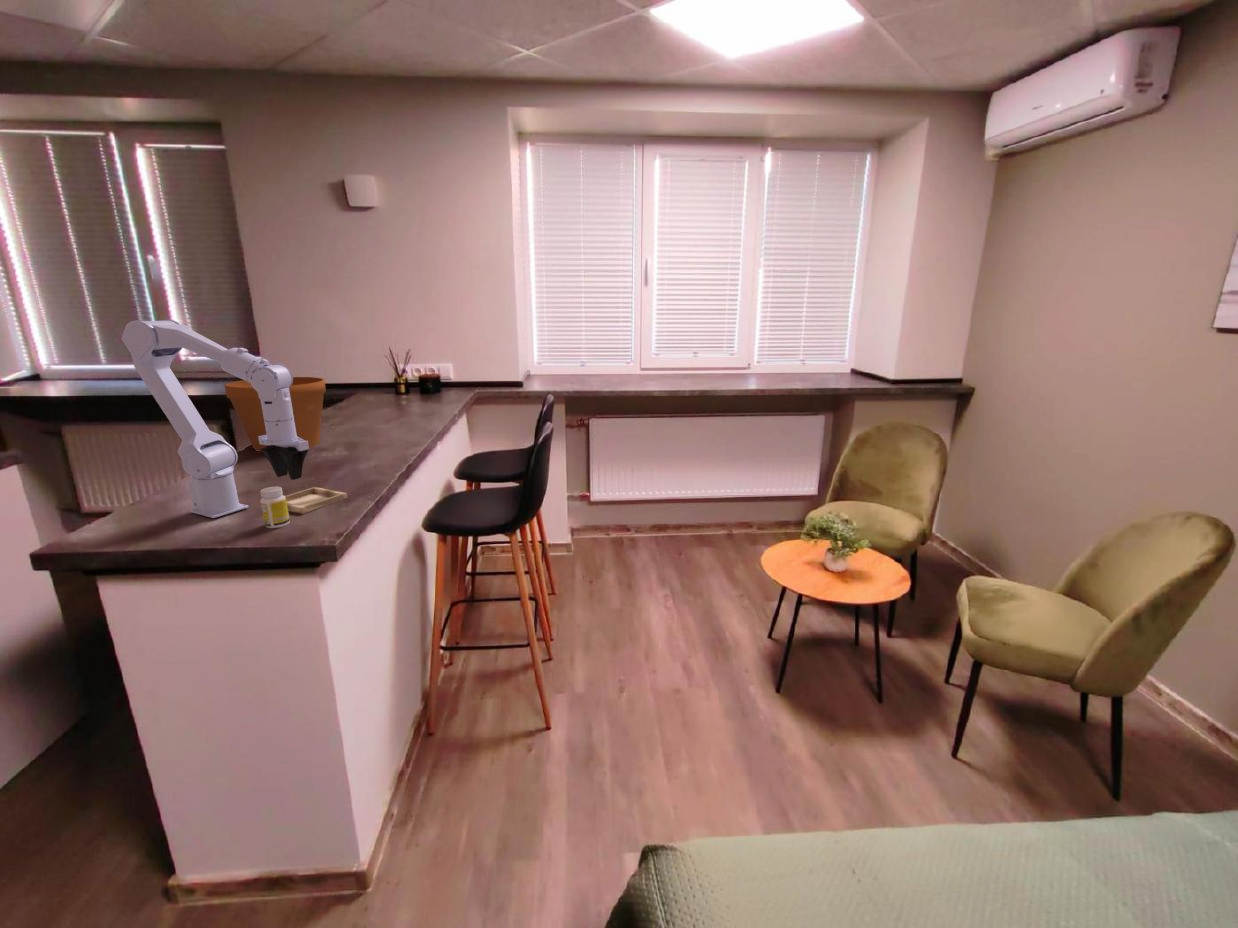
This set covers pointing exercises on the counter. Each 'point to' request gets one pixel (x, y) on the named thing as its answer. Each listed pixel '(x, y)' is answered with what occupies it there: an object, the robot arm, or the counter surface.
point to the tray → (312, 499)
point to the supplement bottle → (274, 507)
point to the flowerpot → (304, 406)
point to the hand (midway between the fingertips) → (289, 477)
